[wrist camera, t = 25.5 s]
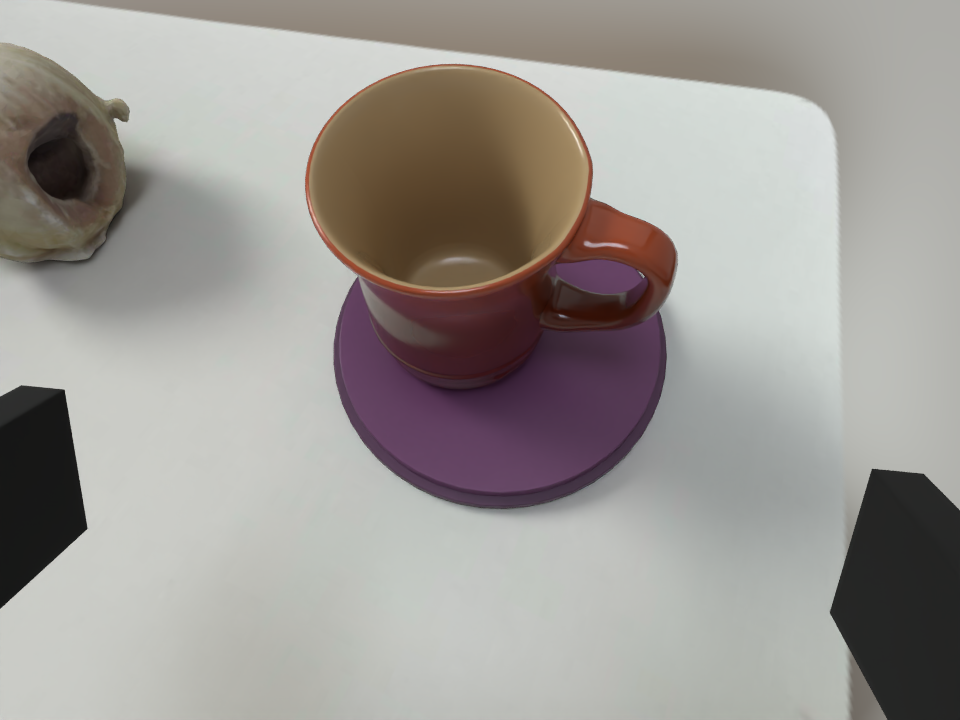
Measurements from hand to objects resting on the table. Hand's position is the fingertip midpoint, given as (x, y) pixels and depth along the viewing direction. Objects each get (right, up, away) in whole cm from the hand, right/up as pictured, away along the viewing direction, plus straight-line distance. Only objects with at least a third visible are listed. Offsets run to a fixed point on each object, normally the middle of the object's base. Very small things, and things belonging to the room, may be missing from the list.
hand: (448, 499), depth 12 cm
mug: (+1, +3, +19) cm, 19 cm away
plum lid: (+1, +3, +20) cm, 20 cm away
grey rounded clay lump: (-20, +10, +24) cm, 33 cm away
